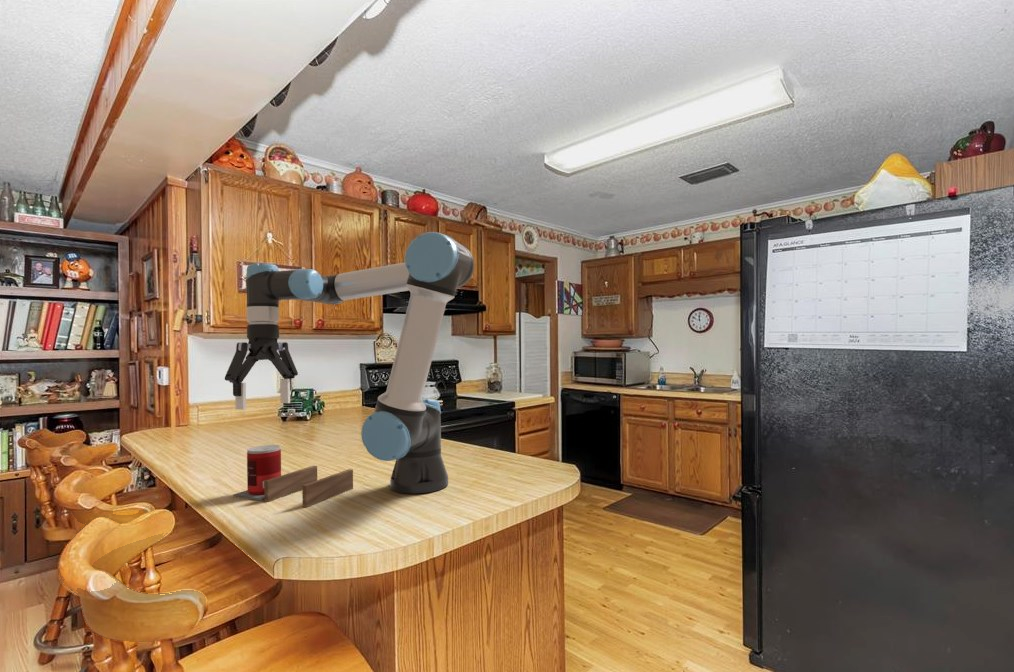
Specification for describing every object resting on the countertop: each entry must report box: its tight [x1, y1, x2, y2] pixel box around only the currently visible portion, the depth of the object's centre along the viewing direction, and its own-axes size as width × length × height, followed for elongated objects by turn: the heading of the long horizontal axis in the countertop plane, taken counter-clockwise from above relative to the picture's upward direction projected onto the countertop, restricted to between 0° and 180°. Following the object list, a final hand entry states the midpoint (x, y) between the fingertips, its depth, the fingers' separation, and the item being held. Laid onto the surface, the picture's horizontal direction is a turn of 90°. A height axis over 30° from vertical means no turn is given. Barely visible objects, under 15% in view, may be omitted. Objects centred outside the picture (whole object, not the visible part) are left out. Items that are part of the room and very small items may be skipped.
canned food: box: [246, 444, 282, 495], centre depth 126 cm, size 8×8×11 cm
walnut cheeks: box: [264, 465, 354, 508], centre depth 124 cm, size 13×16×5 cm
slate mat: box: [232, 489, 265, 502], centre depth 126 cm, size 10×10×1 cm
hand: (264, 406), depth 127 cm, fingers open, 13 cm apart
